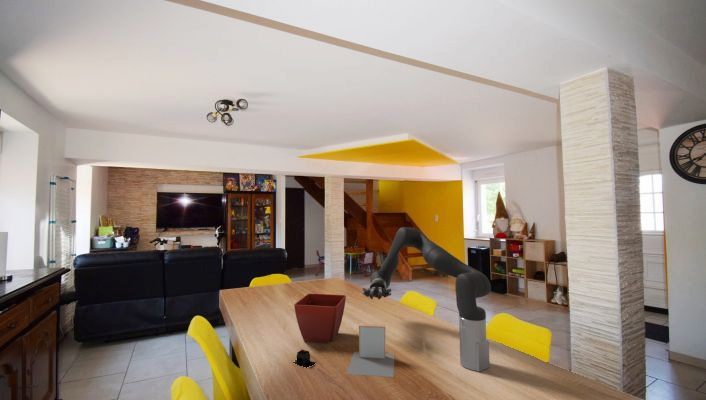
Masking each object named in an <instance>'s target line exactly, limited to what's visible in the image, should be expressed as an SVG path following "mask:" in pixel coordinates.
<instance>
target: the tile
mask: <svg viewBox="0 0 706 400" xmlns="http://www.w3.org/2000/svg"><path fill="white" fill-rule="evenodd" d="M386 345H387V344H386V324H378V323H377V324H375V323H374V324H373V323H359V324H358V352H359V358H376V359H386V353H387V351H386V349H387V348H386V347H387V346H386Z"/></svg>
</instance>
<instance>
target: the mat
mask: <svg viewBox="0 0 706 400" xmlns="http://www.w3.org/2000/svg"><path fill="white" fill-rule="evenodd" d="M394 371H395V353H388V352H386V359H376V358H359V351H353V353H352V357H351V360H350V362H349V365H348V369H347V371H346V375H353V376H354V375H355V376H366V377H367V376H368V377H383V378H394V376H395V375H394V374H395V372H394Z"/></svg>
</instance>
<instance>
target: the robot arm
mask: <svg viewBox="0 0 706 400" xmlns="http://www.w3.org/2000/svg"><path fill="white" fill-rule="evenodd" d="M404 247H405V248H414V249H416V250H418V251H420V252H421V253H422V257H423V260H424V261H425V263H426V264H427V265H429V266H430V267H431V268H432V269H433V270H435V271H436V272H439V273H441V274H444V275H446V276H450V277H452V278H455V299H456V300H455V301H456V308H457V311H458V323H459V324H458V326H459V327H458V328H459V334H458V335H459V361H460V362H459V363H460V366H462V367H463V368H465V369H468V370H471V371H476V372H478V373H479V372H481V371H484V370H487V369H489V368H490V367H491V366H490V364H491V363H490V341H489V340H488V339H487V315H486V314H487V312H486V309H484V308H482V307H480V306H478V305H477V299H479V298H482V297H486V296H487V295H489V294H490V292H491V290H492V286H491V282H490V280H489V278H488V277H487V275H485V274H484V273H483V272H481V271H479V270H477V269H476V268H473V267H472V266H470V265H468V264H466V263H465V262H464V261H462V260H461V259H459V258H458V257H456V256H454V254H453V255H452V254H451V253H450V252H448V250H446V249H445V248H443V247H442V246H440V245H438V244H436V243H435V242H434V241H432V240H431V239H429V238H428V237H427V236H426V235H425V234H424V233H423V232H421V231H420V230H419V229H417V228H416V227H407V226H406V227H405V226H402V227H400V228H399V229H397V232H396V233H395V235H394V238H393V241H392V244H391V247H390V249H389V252H388V254H387V256H386V258H385V259H384V261H383V262H382V264H381V266H380V268H379V271H378V270H376V271H374V272H373V273H372V274H371V276H370V277H369V278H370V283H371V284H370V286H369V287H368V289H367V288H364V287H363V288H362V294H363V296H365V297H366V298H369V299H371V300H374V298H377V299H378V300H381V299H382V298H387V297H389V296H392V288H390V284H391V281H392V277H393V275H394V273H395V271H396V270H397V268H398V267H399V264H400V255H399V254H400V251H401V250H403V248H404Z"/></svg>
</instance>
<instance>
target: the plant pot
mask: <svg viewBox="0 0 706 400" xmlns="http://www.w3.org/2000/svg"><path fill="white" fill-rule="evenodd" d="M346 300H347V296H346V295H345V294H332V293H331V294H328V293H327V294H326V293H307V294H306V295H305V296H303V297H302V298H300V299H299V300H298V301H297V302H295V303H294V305H293V306H294V312H295V313H294V314H295V317H296V322H297V325H298V329H299V332H300V334H301V338H302V339H303V341H304V342H310V343H311V342H312V343H322V344H328V343H332V342H333V341H334V339H335V338H336V337H337V336H338V334H339V331H340V328H341V324H342V320H343V316H344V313H345V312H344V311H345V306H346Z"/></svg>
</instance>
